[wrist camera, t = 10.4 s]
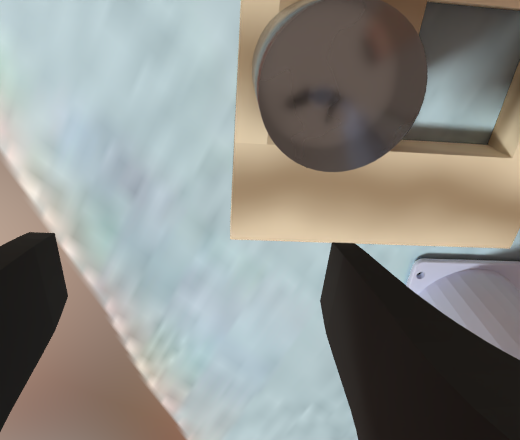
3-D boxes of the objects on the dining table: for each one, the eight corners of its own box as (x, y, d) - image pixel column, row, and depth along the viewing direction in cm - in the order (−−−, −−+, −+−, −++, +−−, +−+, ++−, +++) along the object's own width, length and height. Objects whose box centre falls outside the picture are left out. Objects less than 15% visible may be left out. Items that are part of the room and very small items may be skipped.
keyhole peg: (345, 123, 19) (398, 178, 13) (243, 112, 18) (249, 164, 12) (372, 7, 16) (453, 9, 10) (256, -10, 16) (270, -18, 10)
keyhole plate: (488, 229, 22) (510, 248, 21) (230, 219, 21) (230, 239, 19) (643, -132, 15) (698, -151, 13) (249, -186, 13) (252, -216, 11)
